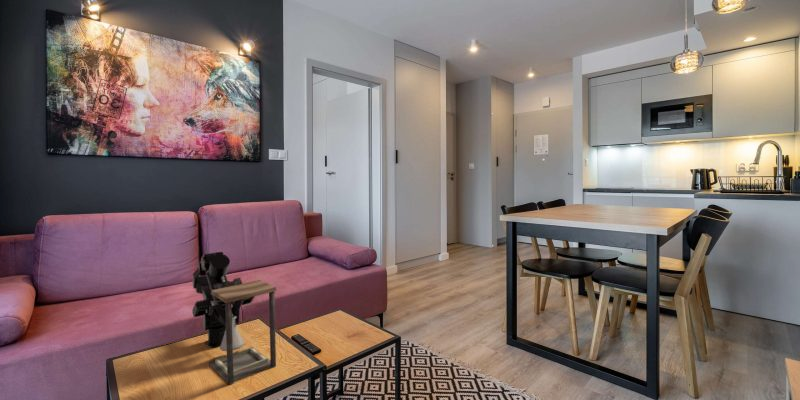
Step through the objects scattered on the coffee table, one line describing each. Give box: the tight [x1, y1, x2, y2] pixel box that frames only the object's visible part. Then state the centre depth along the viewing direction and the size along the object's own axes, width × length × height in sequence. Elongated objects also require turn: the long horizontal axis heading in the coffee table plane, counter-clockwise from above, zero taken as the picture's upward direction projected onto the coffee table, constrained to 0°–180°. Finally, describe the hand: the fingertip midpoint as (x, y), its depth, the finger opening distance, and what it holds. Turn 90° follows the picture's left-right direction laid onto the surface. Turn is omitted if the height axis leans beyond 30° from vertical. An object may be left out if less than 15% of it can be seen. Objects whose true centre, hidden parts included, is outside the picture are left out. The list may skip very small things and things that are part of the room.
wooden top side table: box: [208, 279, 277, 386], centre depth 114 cm, size 17×15×25 cm
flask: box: [219, 315, 246, 352], centre depth 119 cm, size 7×7×10 cm
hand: (232, 325), depth 118 cm, fingers closed on flask, 3 cm apart
